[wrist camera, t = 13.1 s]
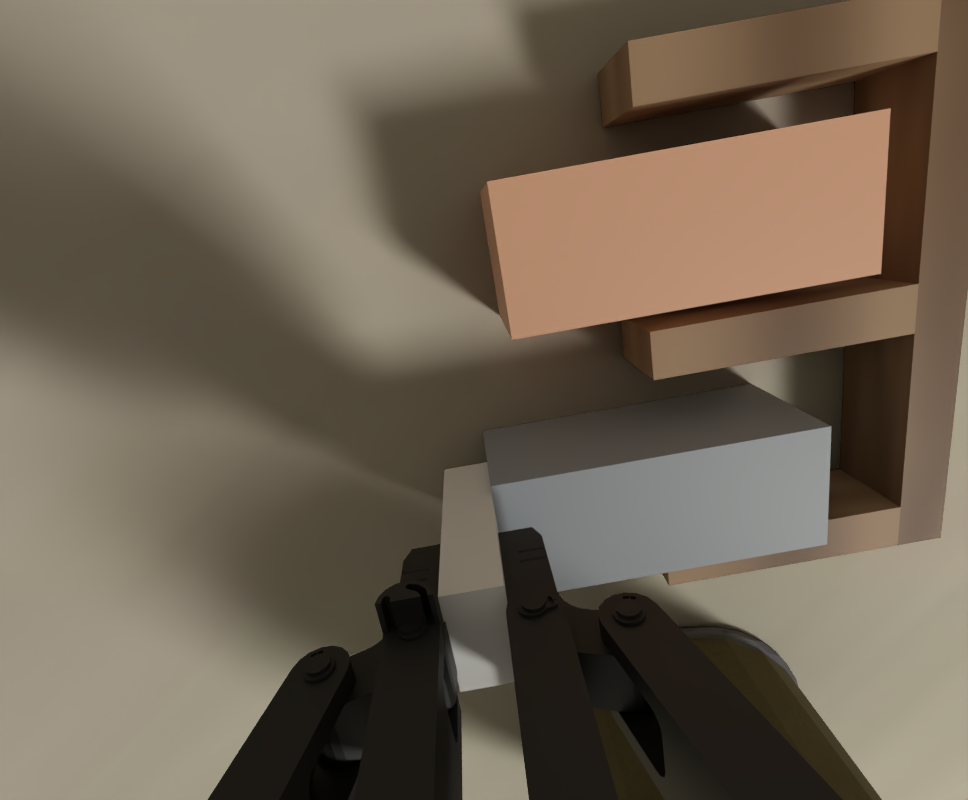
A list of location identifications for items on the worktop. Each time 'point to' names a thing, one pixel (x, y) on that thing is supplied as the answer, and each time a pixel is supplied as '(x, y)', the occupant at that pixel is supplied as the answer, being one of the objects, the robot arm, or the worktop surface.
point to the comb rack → (849, 303)
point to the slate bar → (664, 484)
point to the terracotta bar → (689, 225)
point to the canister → (770, 694)
